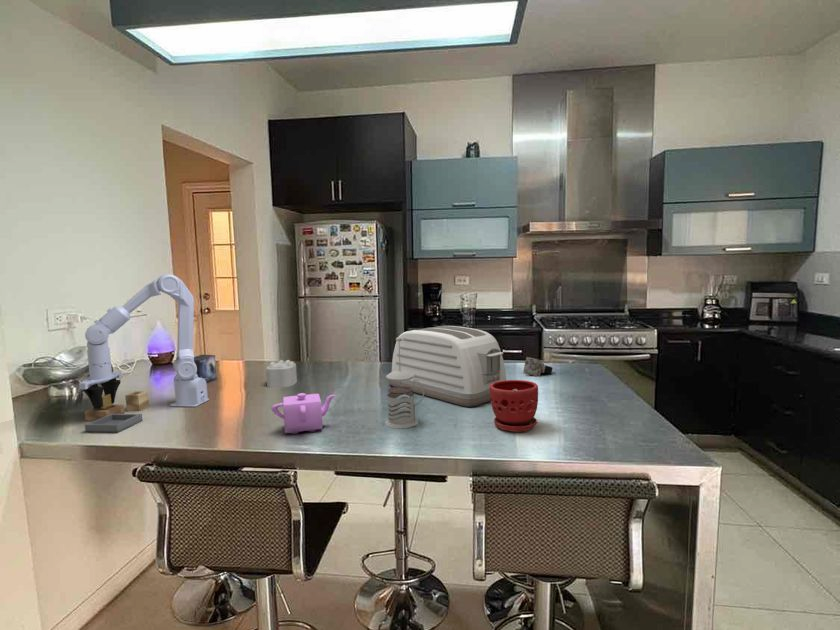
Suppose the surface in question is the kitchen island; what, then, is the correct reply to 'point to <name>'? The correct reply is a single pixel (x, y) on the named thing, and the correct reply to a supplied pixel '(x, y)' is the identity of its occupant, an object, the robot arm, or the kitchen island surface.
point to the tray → (113, 423)
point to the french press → (401, 399)
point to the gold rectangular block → (106, 402)
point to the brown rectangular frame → (103, 412)
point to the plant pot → (514, 404)
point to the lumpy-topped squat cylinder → (281, 374)
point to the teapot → (302, 412)
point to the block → (137, 401)
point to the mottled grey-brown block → (535, 367)
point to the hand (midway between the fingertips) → (104, 405)
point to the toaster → (450, 363)
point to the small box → (206, 367)
